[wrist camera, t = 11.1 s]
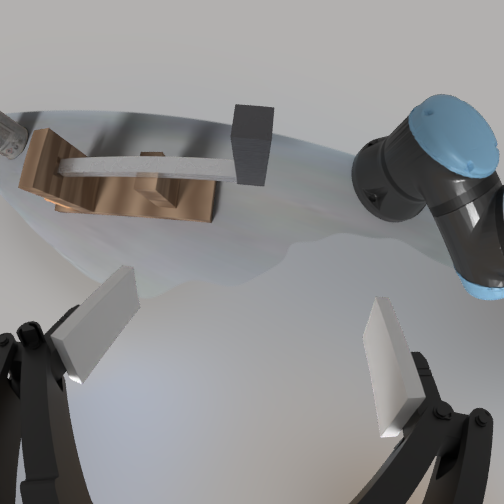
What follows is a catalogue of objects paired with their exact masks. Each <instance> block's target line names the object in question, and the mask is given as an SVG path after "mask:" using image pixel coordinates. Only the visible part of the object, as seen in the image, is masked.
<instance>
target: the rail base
mask: <svg viewBox="0 0 504 504" xmlns="http://www.w3.org/2000/svg"><path fill="white" fill-rule="evenodd" d="M140 156H161V157H166V156H165V155H164V154H163V152H141V154H140ZM86 157H87V156H86V155H85V154H83V153H82V152H80V151H79V150H78V149H76V148H75V147H74V146H72V145H71V144H70V143H68V142H67V141H66V140H64V139H63V138H62V137H60V136H59V135H58V134H56V133H55V132H53V131H52V130H51V129H49V128H46V129H40V130H35V131H34V132H33V135H32V138H31V142H30V145H29V148H28V151H27V155H26V158H25V162H24V166H23V170H22V174H21V178H20V182H19V186H18V188H20V189H23V190H25V191H28V192H31V193H33V194H36V195H38V196H41V197H44V198H46V199H49V200H51V201H54V202H57V203H59V204H62V205H65V206H67V207H70V208H66V207H63V206H60V205H57V204H56V206H55V211H58V212H66V213H84V214H101V215H117V216H132V217H146V218H159V219H172V220H185V221H197V222H209V223H211V222H212V214H213V206H214V198H215V190H216V182H217V181H213V180H198V179H180V178H156V177H64V176H62V175H60V174H58V173H57V172H58V168H59V164H60V160H61V159H68V158H86Z"/></svg>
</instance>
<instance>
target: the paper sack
mask: <svg viewBox="0 0 504 504" xmlns="http://www.w3.org/2000/svg"><path fill="white" fill-rule="evenodd" d="M27 139H28V131H27V129H26V128H25V127H22V126H21V125H19V124H18V123H16V122H15V121H14V120H12V119H11V118H10V117H8V116H7V115H5V114H4V113H2V112H1V111H0V154H1V155H3V156H6V157H7V158H8V159H10V160H12V159H14V158H16V157H17V156H18V155H19V154H20V153H21V152H22V151H23V149H24V147H25V146H26V143H27Z"/></svg>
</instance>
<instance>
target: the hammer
mask: <svg viewBox="0 0 504 504" xmlns="http://www.w3.org/2000/svg"><path fill="white" fill-rule="evenodd" d="M273 116H274V108H272V107H263V106H251V105H250V106H249V105H235V111H234V119H233V124H232V131H231V143H232V150H233V157H234V160H228V159H212V158H193V157H161V156H116V157H86V158H68V159H61V160H60V164H59V168H58V172H57V173H58V174H60V175H62V176H64V177H156V178H180V179H198V180H213V181H226V182H237V184H243V185H254V186H264V184H265V178H266V172H267V165H268V159H269V153H270V147H271V140H272V128H273Z"/></svg>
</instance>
